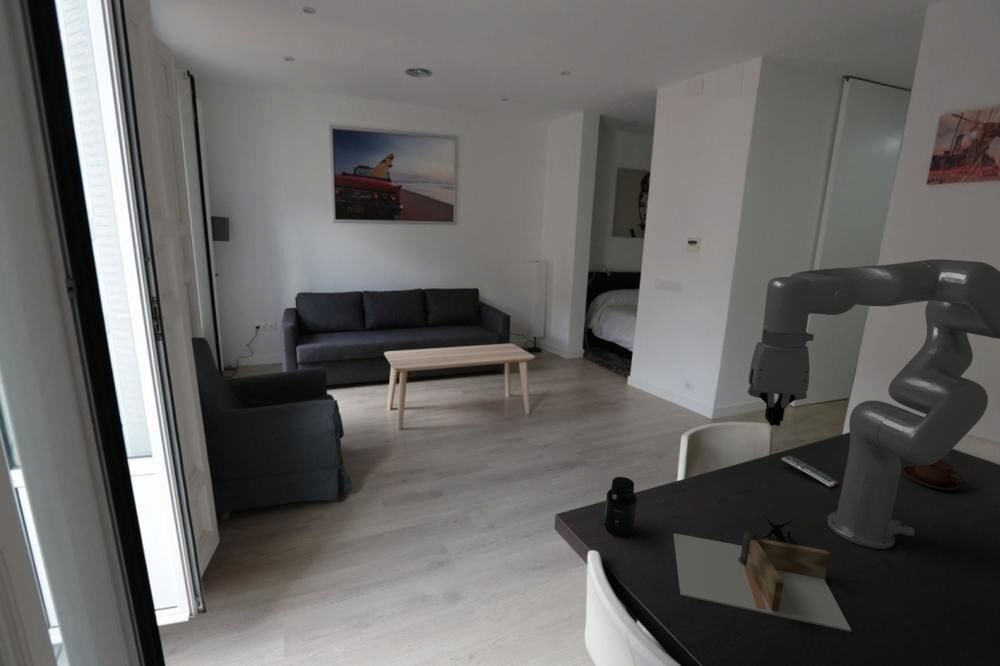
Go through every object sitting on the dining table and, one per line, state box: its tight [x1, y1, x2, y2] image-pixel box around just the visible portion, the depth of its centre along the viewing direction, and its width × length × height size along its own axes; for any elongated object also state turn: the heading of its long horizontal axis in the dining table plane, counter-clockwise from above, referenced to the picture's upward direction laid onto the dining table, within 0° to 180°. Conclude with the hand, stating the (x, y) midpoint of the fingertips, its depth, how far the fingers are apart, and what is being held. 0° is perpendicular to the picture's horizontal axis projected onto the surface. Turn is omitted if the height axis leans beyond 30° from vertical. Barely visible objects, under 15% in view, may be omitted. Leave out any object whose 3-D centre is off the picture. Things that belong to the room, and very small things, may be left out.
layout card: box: [673, 533, 852, 633], centre depth 94 cm, size 28×19×1 cm
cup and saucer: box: [903, 459, 965, 491], centre depth 132 cm, size 12×12×6 cm
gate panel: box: [747, 540, 783, 611], centre depth 90 cm, size 12×1×6 cm, turn 173°
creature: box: [761, 516, 798, 545], centre depth 104 cm, size 8×5×8 cm
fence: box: [740, 530, 831, 579], centre depth 96 cm, size 15×2×7 cm, turn 74°
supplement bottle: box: [604, 476, 638, 538], centre depth 108 cm, size 7×7×12 cm
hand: (773, 423), depth 99 cm, fingers closed
